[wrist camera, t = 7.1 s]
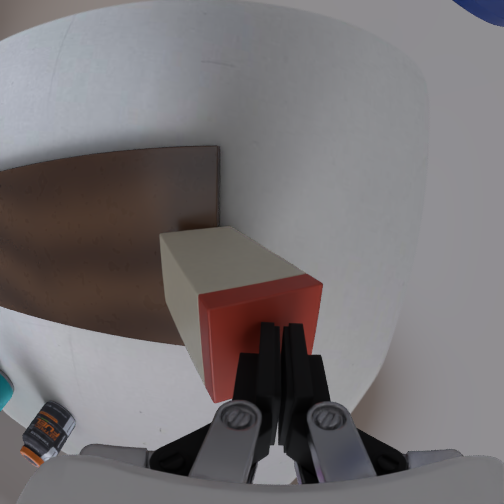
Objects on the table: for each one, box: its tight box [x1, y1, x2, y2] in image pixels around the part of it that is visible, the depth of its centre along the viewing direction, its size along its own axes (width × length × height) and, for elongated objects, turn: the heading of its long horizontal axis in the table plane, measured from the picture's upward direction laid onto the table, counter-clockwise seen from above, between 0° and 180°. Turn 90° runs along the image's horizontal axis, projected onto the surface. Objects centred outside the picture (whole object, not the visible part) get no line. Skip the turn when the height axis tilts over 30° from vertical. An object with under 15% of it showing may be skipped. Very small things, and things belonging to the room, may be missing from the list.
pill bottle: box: [20, 401, 76, 468], centre depth 27 cm, size 6×6×11 cm
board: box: [0, 146, 220, 346], centre depth 22 cm, size 16×39×1 cm, turn 88°
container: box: [159, 226, 323, 403], centre depth 16 cm, size 5×10×5 cm
